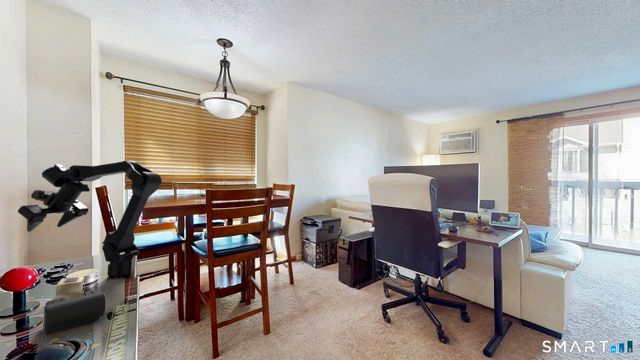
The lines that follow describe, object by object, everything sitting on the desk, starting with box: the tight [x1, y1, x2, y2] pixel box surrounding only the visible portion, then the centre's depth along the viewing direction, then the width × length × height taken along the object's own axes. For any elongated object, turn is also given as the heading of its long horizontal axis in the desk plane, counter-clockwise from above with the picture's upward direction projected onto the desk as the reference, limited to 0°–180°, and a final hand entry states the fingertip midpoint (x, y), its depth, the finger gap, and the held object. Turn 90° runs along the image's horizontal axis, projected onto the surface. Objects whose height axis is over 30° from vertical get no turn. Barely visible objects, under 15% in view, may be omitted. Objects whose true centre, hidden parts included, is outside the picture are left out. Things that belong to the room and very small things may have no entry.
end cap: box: [42, 289, 107, 336], centre depth 58 cm, size 10×7×7 cm
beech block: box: [55, 276, 85, 300], centre depth 71 cm, size 5×5×5 cm
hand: (44, 228), depth 89 cm, fingers open, 9 cm apart
